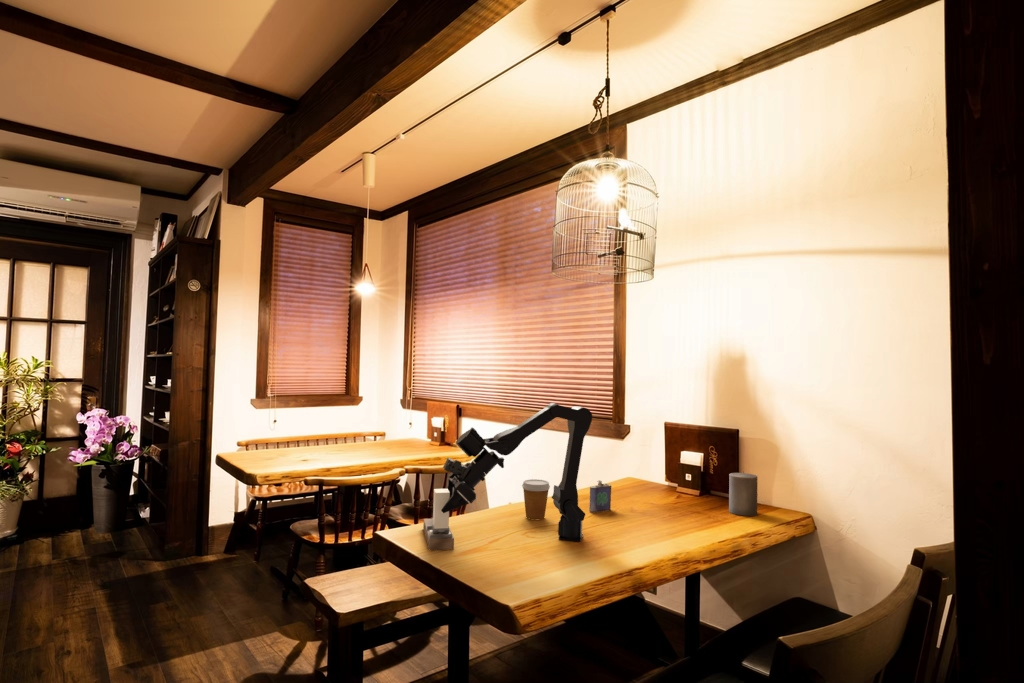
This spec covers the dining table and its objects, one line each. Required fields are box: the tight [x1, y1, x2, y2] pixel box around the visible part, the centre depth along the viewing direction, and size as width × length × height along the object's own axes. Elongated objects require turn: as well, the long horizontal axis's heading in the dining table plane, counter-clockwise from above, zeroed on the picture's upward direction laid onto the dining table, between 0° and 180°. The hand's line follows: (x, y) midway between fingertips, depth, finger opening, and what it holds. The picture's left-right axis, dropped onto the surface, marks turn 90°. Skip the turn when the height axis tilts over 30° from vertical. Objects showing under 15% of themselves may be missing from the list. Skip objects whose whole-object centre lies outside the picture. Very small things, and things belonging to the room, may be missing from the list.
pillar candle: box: [728, 471, 758, 517], centre depth 208 cm, size 10×10×15 cm
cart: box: [432, 488, 451, 534], centre depth 164 cm, size 5×6×12 cm
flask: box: [588, 480, 612, 514], centre depth 205 cm, size 9×3×11 cm, turn 121°
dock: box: [423, 518, 455, 552], centre depth 169 cm, size 7×21×4 cm, turn 13°
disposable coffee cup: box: [521, 478, 551, 520], centre depth 194 cm, size 10×10×12 cm
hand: (440, 507), depth 164 cm, fingers open, 9 cm apart
